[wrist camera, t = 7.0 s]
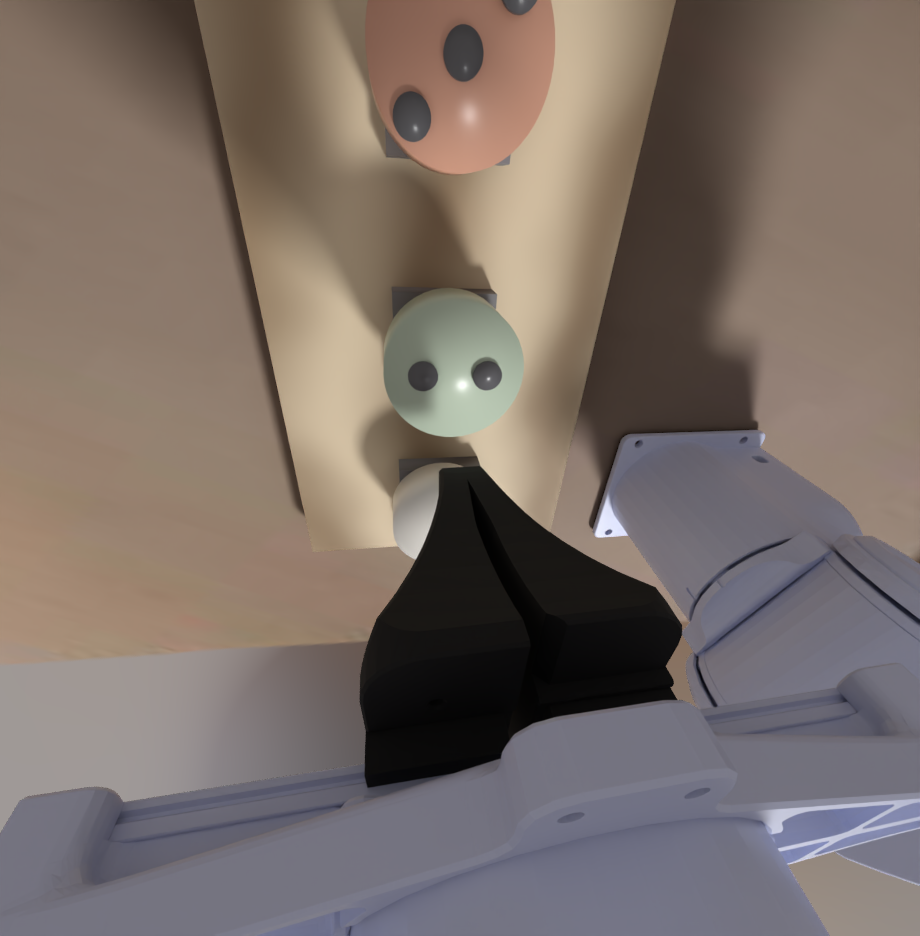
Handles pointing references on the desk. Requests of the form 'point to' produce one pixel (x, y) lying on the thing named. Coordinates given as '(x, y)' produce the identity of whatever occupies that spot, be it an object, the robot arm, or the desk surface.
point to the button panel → (422, 241)
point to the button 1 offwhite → (416, 507)
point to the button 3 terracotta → (459, 76)
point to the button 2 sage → (451, 363)
